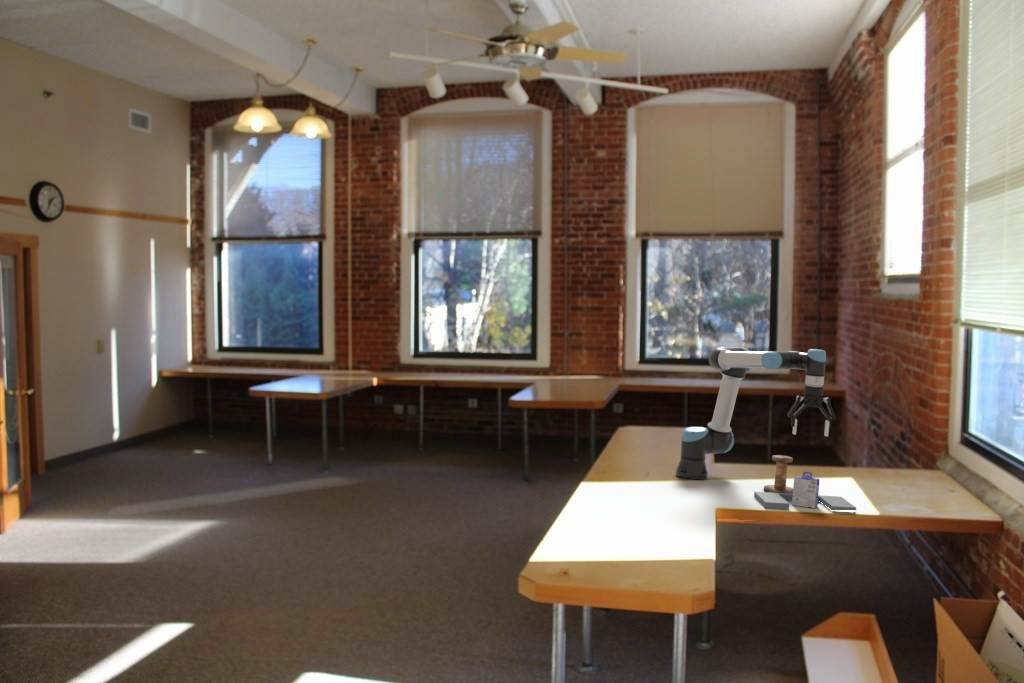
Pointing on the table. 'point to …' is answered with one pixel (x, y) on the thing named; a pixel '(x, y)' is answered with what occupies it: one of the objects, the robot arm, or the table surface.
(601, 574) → the table surface
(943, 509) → the table surface
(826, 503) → the notched board
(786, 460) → the bobbin
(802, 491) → the ink cartridge box
